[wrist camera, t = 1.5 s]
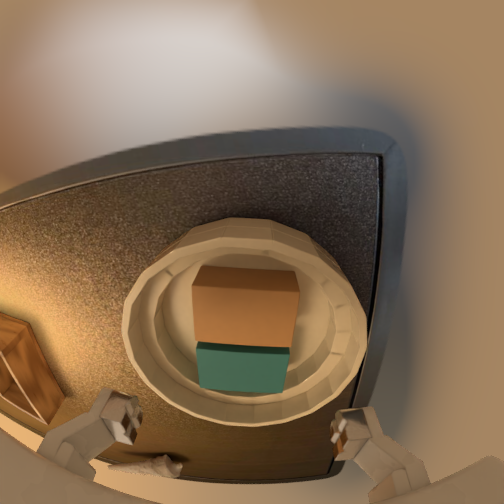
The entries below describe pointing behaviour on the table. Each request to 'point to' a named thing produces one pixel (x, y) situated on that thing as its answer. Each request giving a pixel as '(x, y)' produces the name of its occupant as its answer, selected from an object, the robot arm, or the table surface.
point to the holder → (26, 372)
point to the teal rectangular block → (242, 367)
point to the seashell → (151, 467)
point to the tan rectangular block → (245, 306)
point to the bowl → (305, 334)
